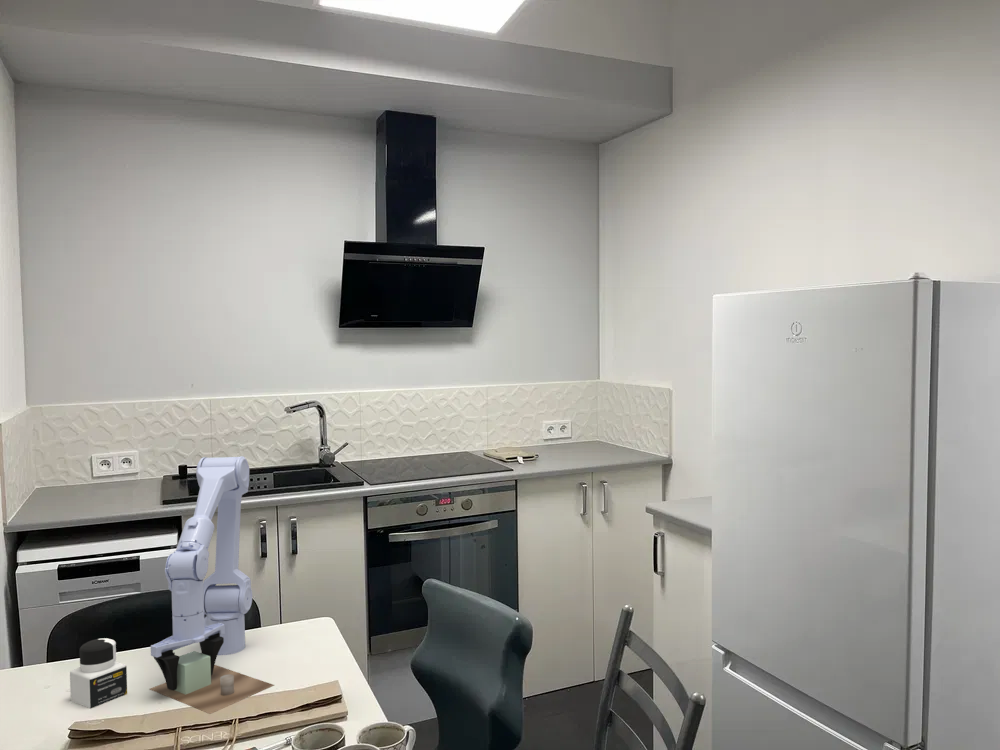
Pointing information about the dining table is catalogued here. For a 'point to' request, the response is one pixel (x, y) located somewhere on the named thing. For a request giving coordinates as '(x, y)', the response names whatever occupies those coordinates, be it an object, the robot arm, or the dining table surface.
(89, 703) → the medicine bottle
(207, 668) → the mint green cube
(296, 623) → the dining table surface
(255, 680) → the base board
